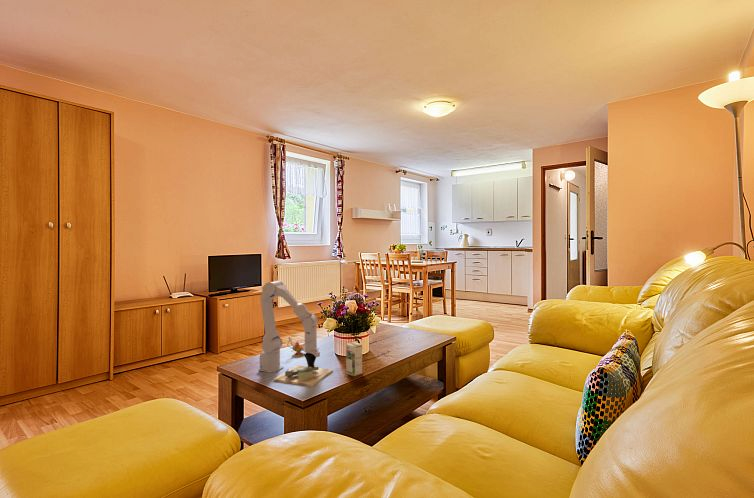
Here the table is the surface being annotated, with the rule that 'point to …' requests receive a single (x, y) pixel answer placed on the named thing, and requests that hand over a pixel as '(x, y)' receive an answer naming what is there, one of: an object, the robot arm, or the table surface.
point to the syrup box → (353, 358)
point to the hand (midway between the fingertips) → (310, 368)
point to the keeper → (305, 372)
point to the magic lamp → (296, 347)
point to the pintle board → (317, 377)
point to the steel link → (295, 372)
